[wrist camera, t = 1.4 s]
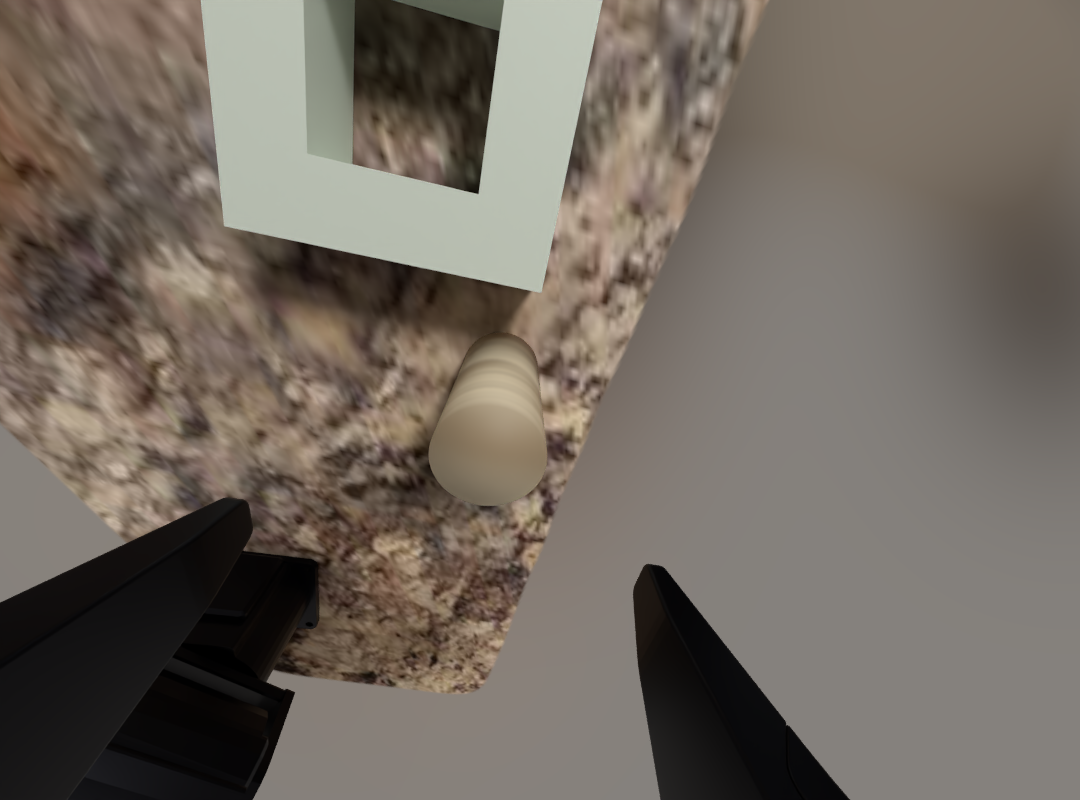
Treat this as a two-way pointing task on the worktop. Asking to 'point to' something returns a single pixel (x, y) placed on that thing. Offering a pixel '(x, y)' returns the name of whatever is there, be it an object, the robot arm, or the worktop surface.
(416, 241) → the socket block
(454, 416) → the peg
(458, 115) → the worktop surface
